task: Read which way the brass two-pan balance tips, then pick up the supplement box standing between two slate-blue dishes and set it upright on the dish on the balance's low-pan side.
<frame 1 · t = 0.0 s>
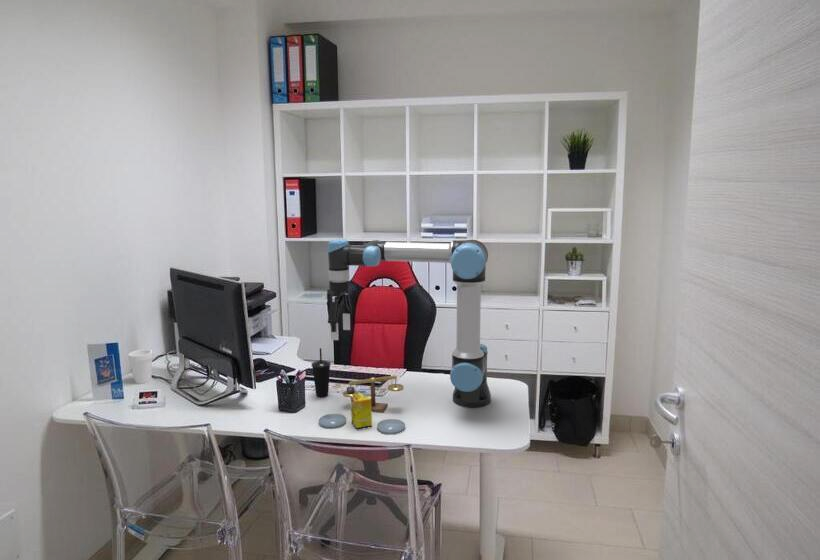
hand: (340, 334, 223), 28 cm above the table, tool pointing down, fingers open, 13 cm apart
dish low side: (332, 422, 211), on the table
foam cup: (143, 381, 253), on the table
supplement box: (361, 426, 209), on the table
balance stand: (373, 408, 223), on the table
drinking cup: (322, 395, 236), on the table
balance beam: (372, 385, 221), point 10 cm above the table
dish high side: (391, 428, 206), on the table
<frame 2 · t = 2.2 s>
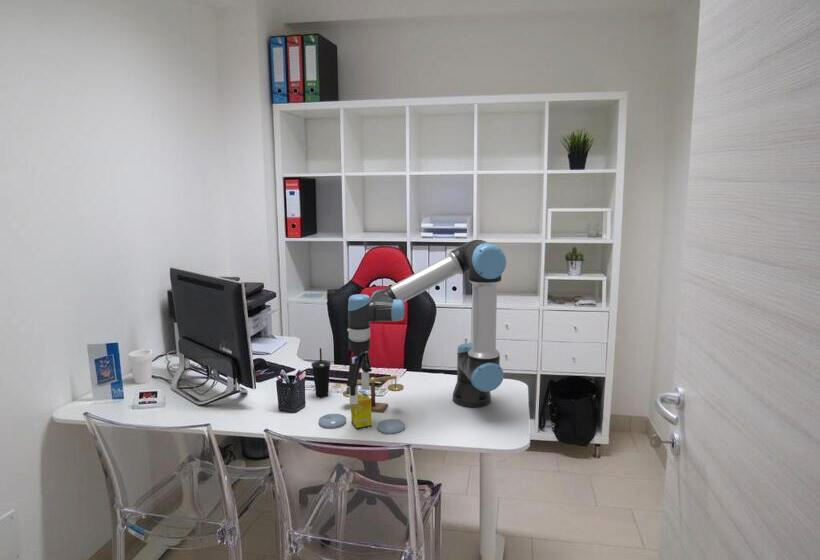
hand: (359, 396, 206), 11 cm above the table, tool pointing down, fingers open, 13 cm apart
nothing on the table moved.
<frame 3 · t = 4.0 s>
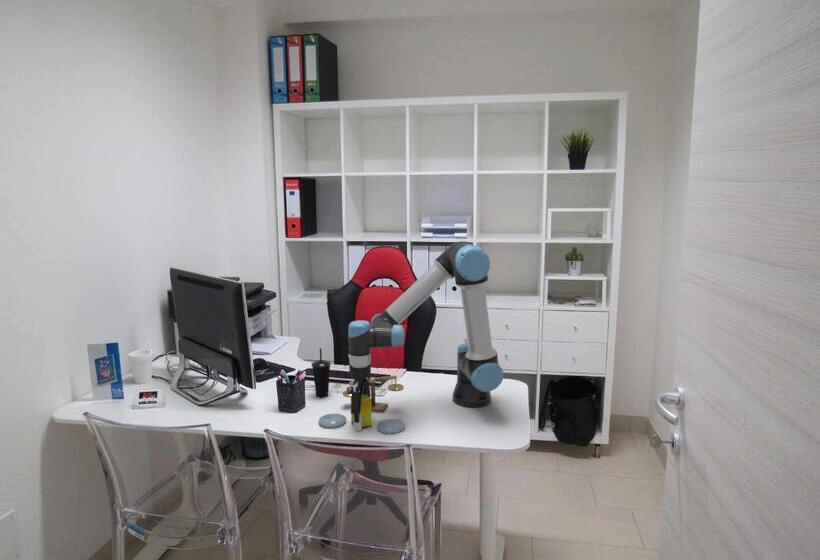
hand: (361, 424, 209), 0 cm above the table, tool pointing down, fingers closed on supplement box, 8 cm apart
supplement box: (361, 425, 209), on the table, touching gripper
everything else where it was.
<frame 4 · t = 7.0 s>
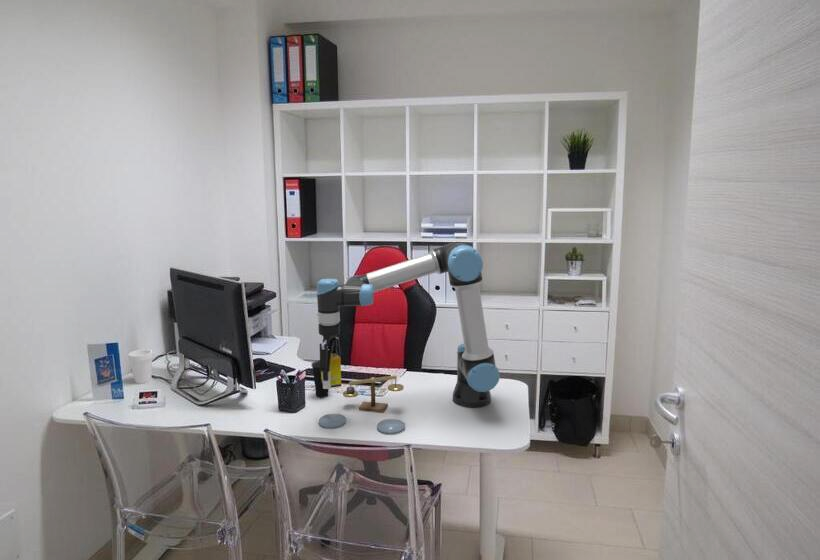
hand: (331, 383, 208), 15 cm above the table, tool pointing down, fingers closed on supplement box, 8 cm apart
supplement box: (331, 385, 208), point 14 cm above the table, touching gripper
everything else where it was.
when the fingers open (3 cm above the table, at t = 9.9 s): supplement box drops 2 cm, resting on dish low side.
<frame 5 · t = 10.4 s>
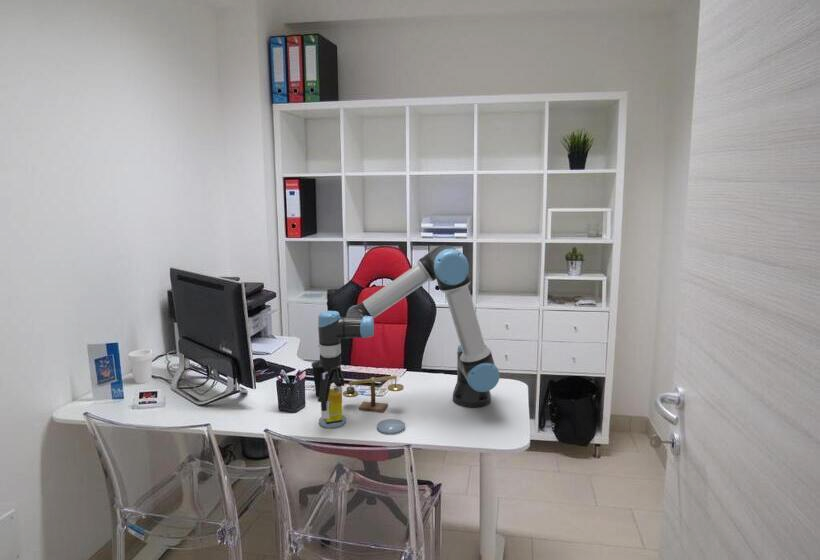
hand: (332, 410, 210), 5 cm above the table, tool pointing down, fingers open, 13 cm apart
supplement box: (332, 420, 210), point 1 cm above the table, touching dish low side
everything else where it was.
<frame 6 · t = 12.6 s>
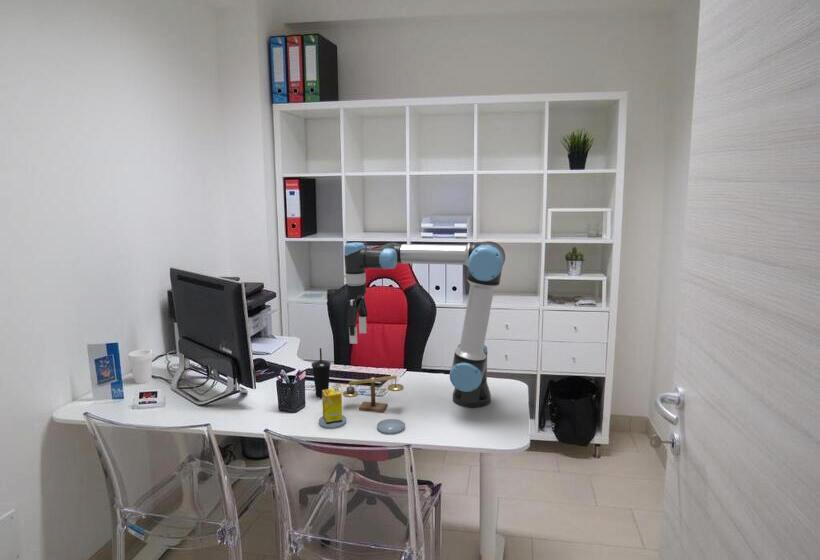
hand: (358, 338, 222), 27 cm above the table, tool pointing down, fingers open, 13 cm apart
nothing on the table moved.
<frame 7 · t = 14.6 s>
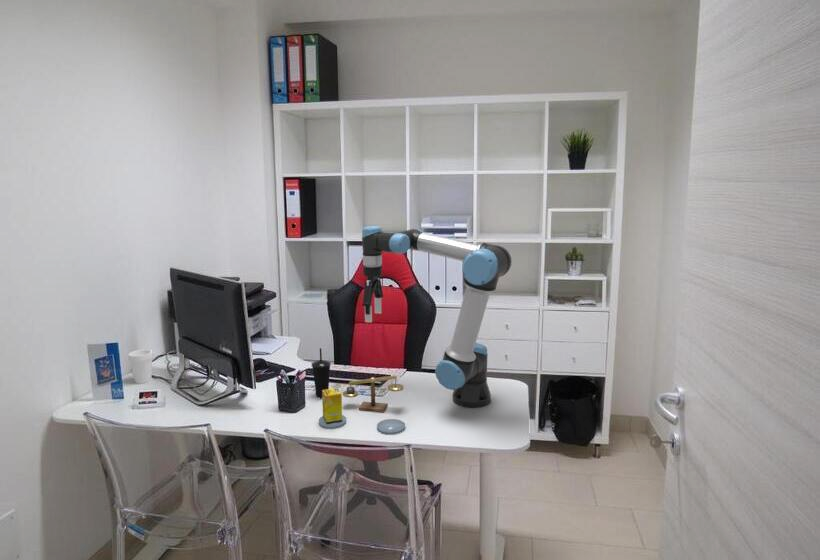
hand: (373, 317, 233), 32 cm above the table, tool pointing down, fingers open, 13 cm apart
nothing on the table moved.
at the end: supplement box 0.4 cm off-centre on the dish low side, point 1.0 cm above the dish low side's base; supplement box tilted 0°; the gripper is holding nothing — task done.
